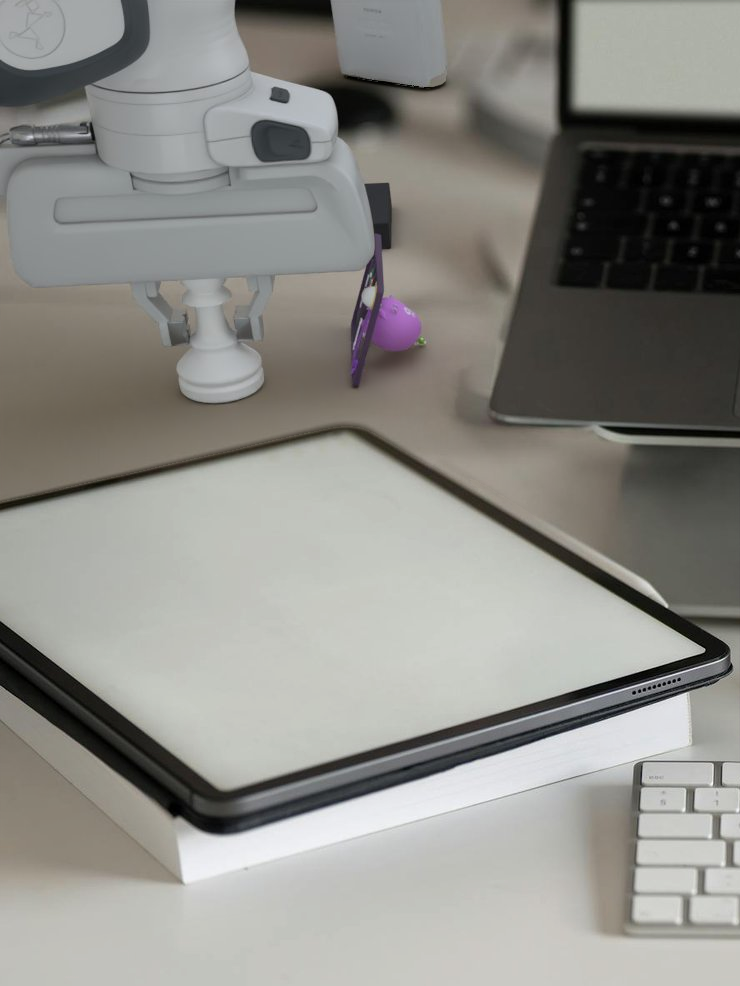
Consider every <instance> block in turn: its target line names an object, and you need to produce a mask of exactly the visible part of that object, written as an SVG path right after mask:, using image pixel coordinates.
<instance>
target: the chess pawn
mask: <svg viewBox="0 0 740 986" xmlns="http://www.w3.org/2000/svg"><path fill="white" fill-rule="evenodd" d="M226 281H227V278H216V279H198V280H179V283H180V284H181V285H182V286H183V287H184V288H185V289H186V290H185V291H184V293H183V294H182V297H181V301H182V303H183V304H184V305H186V306H188V307H191V308H195V322H196V323H195V331H194V332H193V333H191V336H190V338H189V343H190V344H189V346H190V348H189V349H188V350H187V351H186V353H184V355H182V356H181V358H180V359H179V360H178V362H177V364H176V368H175V371H176V373H177V375H178V385H179V389H180V392H181V394H182V395H184V396H185V397H186V398H188V399H190V400H192V401H194V402H198V403H204V404H223V403H224V404H225V403H230V402H234V401H238V400H242V399H245V398H247V397H249V396H252V395H253V394H255V393H256V392H257V391H259V390H260V389H261V387H262V386H263V384H264V383H265V372H264V368H263V366H262V357H261V355H260V353H259V351H256V350H255V349H254V348H252V347H251V346H249V345H247V344H246V343H245V342H237V337H236V333H237V330H236V329H235V328H233V327H231V326H230V324H229V322H228V319H227V317H226V314H225V311H224V306H223V305H224V304H225V303H227V302H228V301H230V300H231V299H232V297H233V292H232V291H231V290H230V289H229V288H228V287H227V286H225V285H224V284H225V283H226Z"/></svg>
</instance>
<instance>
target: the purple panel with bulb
mask: <svg viewBox="0 0 740 986" xmlns="http://www.w3.org/2000/svg"><path fill="white" fill-rule="evenodd" d="M374 239H375V250H374V255H373V257H372V258H371V260H370V261H369V263H368V264H367V265H366V267H365V268H364V269H365V270H364V273H363V276H362V280H361V284H360V288H359V291H358V296H357V299H356V303H355V306H354V311H353V314H352V318H351V322H350V354H351V357H350V358H351V359H350V361H351V362H350V363H351V369H350V376H351V386H353V387H359V385H360V383H361V382H360V381H361V378H362V375H363V371H364V367H365V365H366V360H367V356H368V352H369V349H370V345H371V342H372V343H373V344H374V345H376V346H377V347H378V348H380V349H382V350H385V351H388V352H402V351H405V350H406V351H407V350H409V349H410V348H412V347H413V345H415V344H416V346H418V345H421V347H423V346H424V345H425V344H427V341H426V339H425V338H424V337H423V336H421V333H422V322H421V320H420V318H419V316H418V315H417V314H416V313H415V312H414V311H413V310H412V309H410V308H409V306H407V305H406V304H405V303H403V302H402V301H400V300H398V299H396V298H395V297H394V296H393V294H391V295H389V297H388V296H387V297H384V294H385V283H384V282H385V281H384V264H383V263H384V262H383V248H382V244H381V235H379V234H376V233H375V235H374ZM362 337H363V342H362V346H361V348H360V352H359V346H360V343H361V340H362Z"/></svg>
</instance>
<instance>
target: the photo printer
mask: <svg viewBox="0 0 740 986" xmlns="http://www.w3.org/2000/svg"><path fill="white" fill-rule="evenodd" d="M330 5H331V12H332V19H333V21H332V22H333V27H334V36H335V43H336V50H337V57H338V63H339V64H338V65H339V69H340V73H341V75H343V74H348V75H356V76H360V77H363V78H367V79H372V80H374V79H376V80H377V79H388V80H389V81H390V80H392V81H395V82H397V83H400V84H401V83H403V84H408V85H410V84H411V85H412V86H411V87H414V86H419V87H418V88H424V87H428V86H429V85H430V83H429V82H430V80H431V79H432V78H434V77H436V76H438V75H441V74H442V73H444V71H445V67H446V66H447V67H448V60H447V50H446V49H447V48H446V42H445V31H444V24H443V23H444V22H443V11H442V1H441V0H330ZM372 80H371V81H372ZM400 84H399V85H400ZM413 85H414V86H413Z"/></svg>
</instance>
